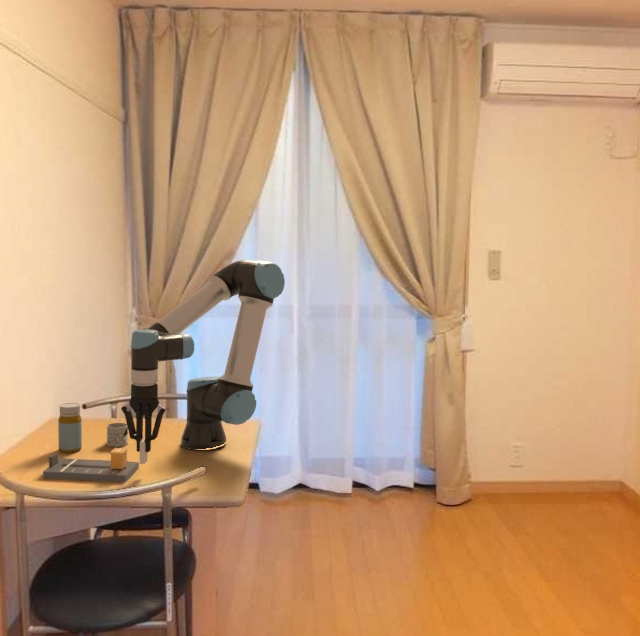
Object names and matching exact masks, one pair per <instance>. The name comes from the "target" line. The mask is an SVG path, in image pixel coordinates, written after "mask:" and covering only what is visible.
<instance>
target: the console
mask: <svg viewBox="0 0 640 636" xmlns="http://www.w3.org/2000/svg"><path fill="white" fill-rule="evenodd" d="M139 465H140V461H127V465H126V466H125V467H124V468H123V469H111V460H103V459H102V460H101V459H86V458H85V459H84V458H83V459H80V458H62V457H60V458H59V452H54V453H53V454H51V455H49V456H48V467H47V468H46V469H44V470H43V471H42V478H43V479H49V478H51V480H69V481H73V480H74V481H92V482H93V481H94V482H109V481H111V482H114V483H127V481H128V480H129V479H130V478H131V477H132V476H133V475H134V474H135V473H136V472H137V471H138V470H139V469H140V466H139Z"/></svg>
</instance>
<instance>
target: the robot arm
mask: <svg viewBox="0 0 640 636" xmlns="http://www.w3.org/2000/svg"><path fill="white" fill-rule="evenodd" d="M284 288H285V275H284V273H283V271H282V269H281V267H280V266H279V265H278V264H276V263H274V262H270V261H266V260H247V259H241V260H236V261H234V262H231V263H230V264H229V263H228V264H227V265H226V266H224V267H223V268H220V269H219V270H217V272H216V273H214V274H213V275H211V276H210V277H209V278H208V282H207V283H206V284H205V285H204V286H203V285H202V287H201V288H200V289H198V290H197V291H196V292H194V293H193V294H192V295H190V296H189V297H188V298H186V299H185V300H184V301H183V302H181V303H180V304H178V305H177V306H176V307H175V308H173V309H172V310H171V311H169V312H168V313H166V314H165V315H164V316H163V317H161V318H160V319H158V320H157V321H156V322H155V323H153V324H152V325H151V326H149V327H148V328H146V327H144V328H139V329H136V330H134V331H133V332H132V334H131V342H130V343H131V345H130V350H131V352H130V353H131V355H130V357H131V358H130V361H131V362H130V363H131V365H130V366H131V367H130V368H131V371H130V383H131V385H130V400H129V402H128V403H127V404H124V405H123V406H122V407H121V409H120V410H121V411H122V413H123V414H124V416H125V423H126V424H127V426H128V434H129V435H128V436H129V438H130V439H131V440H135V441H136V452H137V453H138V452H139V465H145V464H146V463H147V462H148V453H149V452H151V450H152V441H154V440H156V439H157V438H158V435H159V433H160V429H161V423H162V420H163V416H164V414H165V413H166V411H167V409H168V408H167V406H163V405H161V404H160V401H159V399H158V396H159V395H158V394H159V392H158V391H159V390H158V389H159V387H158V386H159V385H158V382H159V378H158V377H159V362H167V361H176V360H180V361H181V360H184V359H185V360H186V359H189V358H191V357H192V356H193V354H194V351H195V342H194V339H193V337H192V336H191V335H190V334H187V333H184V334H183V332H184V331H185V330H187V329H188V328H189V327H190V326H192V325H193V324H194V323H195V322H197V321H198V320H200V319H201V318H202V317H203V316H204V315H206V314H207V313H208V312H210V311H211V310H212V309H213V308H214V307H216V306H217V305H219V304H220V303H221V302H223V301H228V300H230V299H231V298H232V297H234V296H237V295H238V296H237V297H238V299H239V301H240V303H241V304H240V307H239V312H238V316H237V320H236V324H235V329H234V333H233V337H232V340H231V344H230V345H231V346H230V349H229V353H228V357H227V361H226V367H225V370H224V373H223V374H222V375H220V376H203V377H195V378H191V379H190V380H188V382H187V385H186V386H187V387H186V424H185V427H184V429H183V431H182V432H183V433H182V435H181V439H180V444H181V446H182V447H183V446H184V447H186V448H185V449H187V448H190V449H189V450H191V449H206V448H213V447H216V446H220V445H222V444H224V443H225V442H226V443H227V436H226V435H227V434H226V433H225V430H224V426H223V423H222V422H224V423H225V424H228V425H233V426H234V425H235V426H236V425H237V426H238V425H242V424H245V423H246V422H247V421H249V420H251V418H252V417H253V415H254V413H255V411H256V409H257V408H256V407H257V399H256V395H255V394H254V393H253V388H254V384H253V383H252V381H251V377H252V373H253V369H254V366H255V365H254V364H255V360H256V355H257V352H258V347H259V344H260V339H261V336H262V335H261V334H262V330H263V326H264V323H265V319H266V318H265V317H266V314H267V310H268V309H269V308H270V307H272V306H273V304H274V300H275V299H276V298H278V297H279V296H280V295H282V293H283V291H284V290H285V289H284ZM132 410H133V412H134V413H135V419H136V421H135V422H136V423H135V422H134V418H133V412H132ZM154 411H156V412H157V415H156V418H155V421H154V425H153V424H152V423H153V421H152V417H153V413H154ZM152 425H153V429H152ZM143 432H144V433H143ZM143 434H144V435H143ZM184 447H183V448H184Z"/></svg>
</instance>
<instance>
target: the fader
mask: <svg viewBox="0 0 640 636" xmlns="http://www.w3.org/2000/svg"><path fill="white" fill-rule="evenodd" d="M109 453H110V461H111V469H123V468H124V467H125V466H126V465H127V460H128V456H127V455H128V454H127V453H128V448H123V447H113V449H112V450H110V452H109Z"/></svg>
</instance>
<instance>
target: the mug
mask: <svg viewBox="0 0 640 636" xmlns="http://www.w3.org/2000/svg"><path fill="white" fill-rule="evenodd" d="M128 434H129V431H128V426H127V422H113V423H109V424H107V425H106V446H107V447H109V448H123V447H126V446H128V445H129V443H128V441H129V435H128Z"/></svg>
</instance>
